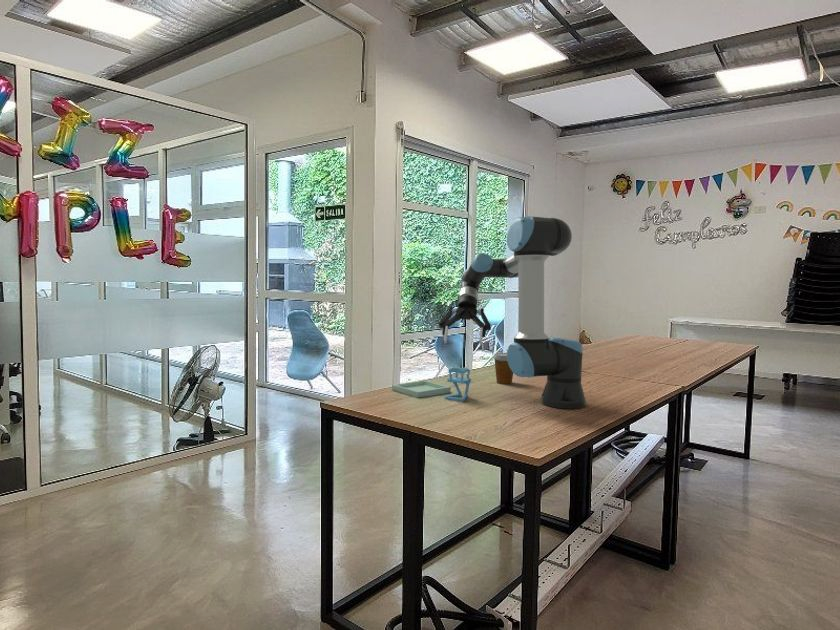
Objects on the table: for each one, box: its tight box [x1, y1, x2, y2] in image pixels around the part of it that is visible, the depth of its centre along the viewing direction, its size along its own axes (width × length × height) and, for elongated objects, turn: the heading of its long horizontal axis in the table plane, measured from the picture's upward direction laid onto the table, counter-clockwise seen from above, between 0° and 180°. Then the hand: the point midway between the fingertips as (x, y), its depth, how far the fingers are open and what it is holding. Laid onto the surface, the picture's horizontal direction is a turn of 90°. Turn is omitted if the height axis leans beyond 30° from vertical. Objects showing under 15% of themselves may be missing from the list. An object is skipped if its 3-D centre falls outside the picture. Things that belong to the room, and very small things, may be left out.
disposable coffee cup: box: [492, 352, 514, 385], centre depth 231 cm, size 10×10×12 cm
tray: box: [391, 379, 452, 399], centre depth 212 cm, size 16×16×2 cm
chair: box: [444, 365, 472, 402], centre depth 201 cm, size 8×8×12 cm
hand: (462, 342), depth 211 cm, fingers open, 13 cm apart
